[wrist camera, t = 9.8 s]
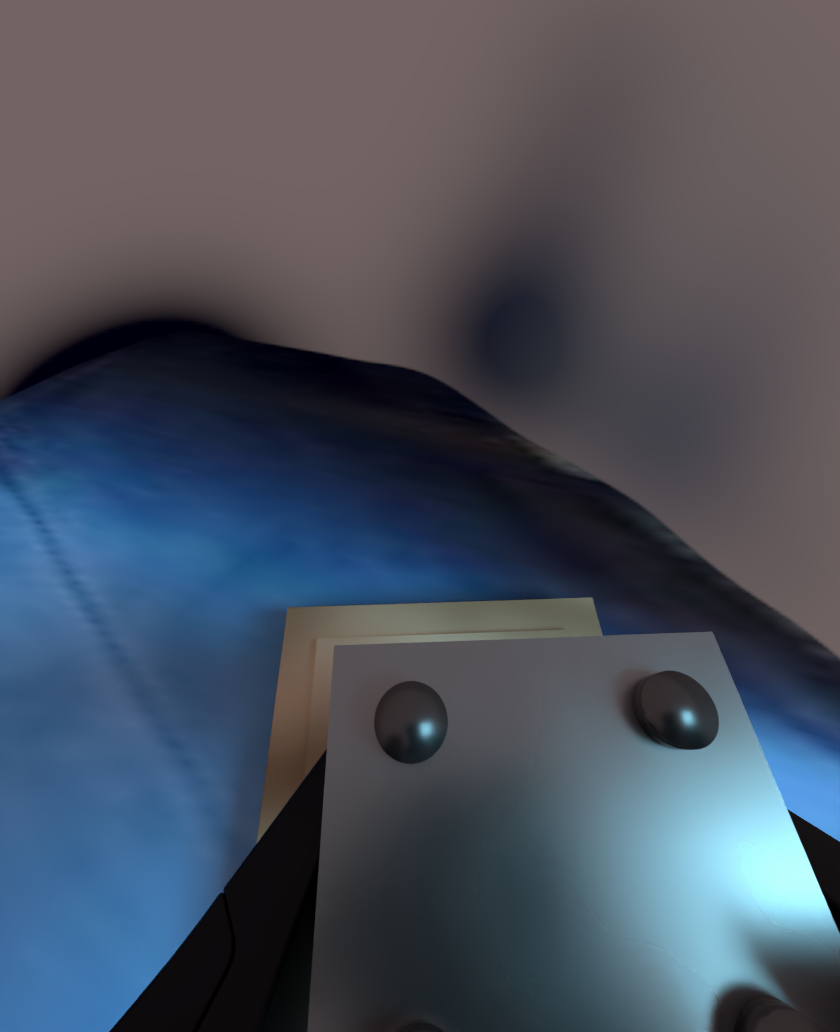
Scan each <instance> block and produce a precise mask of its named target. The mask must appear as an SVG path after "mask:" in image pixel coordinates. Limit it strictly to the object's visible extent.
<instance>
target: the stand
mask: <svg viewBox="0 0 840 1032" xmlns="http://www.w3.org/2000/svg"><path fill="white" fill-rule="evenodd" d="M583 636H603V635H602V632H601V628H600V625H599V621H598V617H597V614H596V610H595V606H594V603H593V599H592V598H566V599H535V600H504V601H474V602H443V603H413V604H382V605H351V606H321V607H290V608H287V616H286V623H285V631H284V638H283V646H282V654H281V661H280V669H279V676H278V684H277V692H276V699H275V707H274V714H273V722H272V730H271V737H270V745H269V752H268V760H267V768H266V775H265V783H264V790H263V798H262V806H261V813H260V821H259V828H258V836H257V843H258V841H259V840H260V838H261V837H262V836H263V834H264V833H265V832H266V830H267V829H268V828H269V826H270V825H271V824H272V822H273V821H274V819H275V818H276V817H277V815H278V814H279V813H280V811H281V810H282V809H283V807H284V806H285V804H286V803H287V802H288V800H289V799H290V798H291V796H292V795H293V794H294V792H295V791H296V790H297V788H298V787H299V785H300V784H301V783H302V781H303V780H304V779H305V777H306V776H307V775H308V773H309V772H310V770H311V769H312V768H313V766H314V765H315V764H316V762H317V761H318V760H319V758H320V757H321V756H322V754H323V753H324V751H325V750H326V749H327V741H328V726H329V712H330V697H331V683H332V668H333V654H334V645H360V644H388V643H416V642H444V641H472V640H500V639H527V638H555V637H583Z"/></svg>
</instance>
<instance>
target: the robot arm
mask: <svg viewBox="0 0 840 1032" xmlns="http://www.w3.org/2000/svg"><path fill="white" fill-rule="evenodd" d="M326 755H327V749H326V750H325V751H324V753H323V754H322V756H321V757H320V758H319V760H318V761H317V762H316V764H315V765H314V766H313V768H312V769H311V770H310V772H309V773H308V775H307V776H306V777H305V779H304V780H303V781H302V783H301V784H300V785H299V787H298V788H297V790H296V791H295V792H294V794H293V795H292V796H291V798H290V799H289V800H288V802H287V803H286V804H285V806H284V807H283V809H282V810H281V811H280V813H279V814H278V815H277V817H276V818H275V819H274V821H273V822H272V824H271V825H270V826H269V828H268V829H267V830H266V832H265V833H264V834H263V836H262V837H261V838H260V840H259V841H258V843H257V844H256V845H255V847H254V848H253V849H252V851H251V852H250V853H249V855H248V856H247V858H246V859H245V860H244V862H243V863H242V864H241V866H240V867H239V868H238V870H237V871H236V872H235V874H234V875H233V877H232V878H231V879H230V881H229V882H228V883H227V885H226V886H225V887H224V890H223V891H224V893H220V894H219V895H218V896H217V898H216V899H215V901H214V902H213V903H212V905H211V906H210V907H209V909H208V910H207V912H206V913H205V914H204V916H203V917H202V918H201V920H200V921H199V922H198V924H197V925H196V926H195V927H194V929H193V930H192V931H191V933H190V934H189V935H188V937H187V938H186V939H185V940H184V942H183V943H182V944H181V946H180V947H179V948H178V950H177V951H176V952H175V954H174V955H173V956H172V957H171V959H170V960H169V961H168V962H167V963H166V965H165V966H164V967H163V968H162V970H161V971H160V972H159V973H158V974H157V976H156V977H155V978H154V979H153V980H152V982H151V983H150V984H149V985H148V986H147V988H146V989H145V990H144V991H143V992H142V994H141V995H140V996H139V997H138V998H137V1000H136V1001H135V1002H134V1003H133V1005H132V1006H131V1007H130V1008H129V1009H128V1010H127V1012H126V1013H125V1014H124V1015H123V1016H122V1017H121V1019H120V1020H119V1021H118V1022H117V1023H116V1024H115V1026H114V1027H113V1028H112V1029H111V1030H110V1031H109V1032H307V1030H308V1016H309V1001H310V987H311V972H312V958H313V943H314V929H315V914H316V900H317V885H318V871H319V857H320V842H321V828H322V813H323V799H324V784H325V770H326ZM787 810H788V809H787ZM788 813H789V815H790V817H791V820H792V822H793V824H794V827H795V829H796V832H797V834H798V836H799V839H800V841H801V843H802V846H803V848H804V851H805V853H806V855H807V858H808V860H809V862H810V865H811V867H812V870H813V872H814V874H815V877H816V879H817V881H818V884H819V886H820V889H821V891H822V893H823V896H824V898H825V900H826V903H827V905H828V908H829V910H830V912H831V915H832V917H833V919H834V922H835V924H836V927H837V929H838V931H839V934H840V842H839V841H837V840H836V839H834V838H833V837H831V836H829V835H828V834H826V833H825V832H823V831H821V830H820V829H818V828H817V827H815V826H813V825H812V824H810V823H809V822H807V821H805V820H804V819H802V818H801V817H799V816H797V815H796V814H794V813H793V812H791V811H789V810H788Z"/></svg>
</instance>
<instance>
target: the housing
mask: <svg viewBox="0 0 840 1032" xmlns="http://www.w3.org/2000/svg"><path fill="white" fill-rule="evenodd" d="M307 1032H840V934H839V931H838V929H837V927H836V924H835V922H834V919H833V917H832V915H831V912H830V910H829V908H828V905H827V903H826V900H825V898H824V896H823V893H822V891H821V889H820V886H819V884H818V881H817V879H816V877H815V874H814V872H813V870H812V867H811V865H810V862H809V860H808V858H807V855H806V853H805V851H804V848H803V846H802V843H801V841H800V839H799V836H798V834H797V832H796V829H795V827H794V824H793V822H792V820H791V817H790V815H789V813H788V810H787V808H786V805H785V803H784V801H783V798H782V796H781V793H780V791H779V789H778V786H777V784H776V782H775V779H774V777H773V774H772V772H771V770H770V767H769V765H768V763H767V760H766V758H765V755H764V753H763V751H762V748H761V746H760V744H759V741H758V739H757V736H756V734H755V732H754V729H753V727H752V725H751V722H750V720H749V717H748V715H747V713H746V710H745V708H744V706H743V703H742V701H741V698H740V696H739V694H738V691H737V689H736V687H735V684H734V682H733V679H732V677H731V675H730V672H729V670H728V668H727V665H726V663H725V660H724V658H723V656H722V653H721V651H720V649H719V646H718V644H717V641H716V639H715V637H714V634H713V632H694V633H666V634H639V635H611V636H583V637H555V638H527V639H500V640H472V641H444V642H416V643H388V644H360V645H334V654H333V668H332V683H331V697H330V712H329V726H328V741H327V755H326V770H325V784H324V799H323V813H322V828H321V842H320V857H319V871H318V885H317V900H316V914H315V929H314V943H313V958H312V972H311V987H310V1001H309V1016H308V1030H307Z"/></svg>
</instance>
